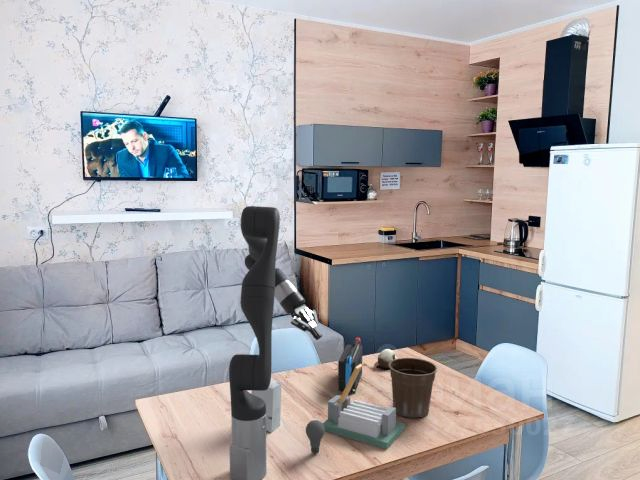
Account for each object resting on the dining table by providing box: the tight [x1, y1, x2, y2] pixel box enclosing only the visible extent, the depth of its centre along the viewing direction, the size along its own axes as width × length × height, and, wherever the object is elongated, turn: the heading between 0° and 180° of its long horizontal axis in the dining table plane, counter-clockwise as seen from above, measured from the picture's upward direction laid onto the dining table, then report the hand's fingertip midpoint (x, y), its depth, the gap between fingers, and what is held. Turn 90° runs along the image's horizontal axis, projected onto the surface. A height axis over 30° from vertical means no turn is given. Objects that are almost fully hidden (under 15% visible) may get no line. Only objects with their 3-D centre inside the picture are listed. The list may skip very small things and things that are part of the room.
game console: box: [337, 336, 363, 394], centre depth 206 cm, size 28×6×15 cm, turn 168°
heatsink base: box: [321, 394, 406, 450], centre depth 169 cm, size 14×22×8 cm, turn 59°
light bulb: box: [305, 419, 326, 455], centre depth 155 cm, size 6×6×10 cm
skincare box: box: [250, 379, 283, 433], centre depth 171 cm, size 8×6×15 cm
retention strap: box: [338, 363, 363, 404], centre depth 170 cm, size 15×4×1 cm
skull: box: [373, 348, 398, 373], centre depth 224 cm, size 12×10×10 cm
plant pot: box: [389, 357, 438, 419], centre depth 182 cm, size 16×16×16 cm
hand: (319, 338), depth 174 cm, fingers closed
